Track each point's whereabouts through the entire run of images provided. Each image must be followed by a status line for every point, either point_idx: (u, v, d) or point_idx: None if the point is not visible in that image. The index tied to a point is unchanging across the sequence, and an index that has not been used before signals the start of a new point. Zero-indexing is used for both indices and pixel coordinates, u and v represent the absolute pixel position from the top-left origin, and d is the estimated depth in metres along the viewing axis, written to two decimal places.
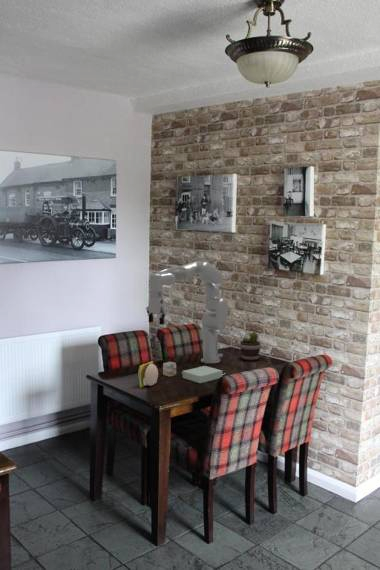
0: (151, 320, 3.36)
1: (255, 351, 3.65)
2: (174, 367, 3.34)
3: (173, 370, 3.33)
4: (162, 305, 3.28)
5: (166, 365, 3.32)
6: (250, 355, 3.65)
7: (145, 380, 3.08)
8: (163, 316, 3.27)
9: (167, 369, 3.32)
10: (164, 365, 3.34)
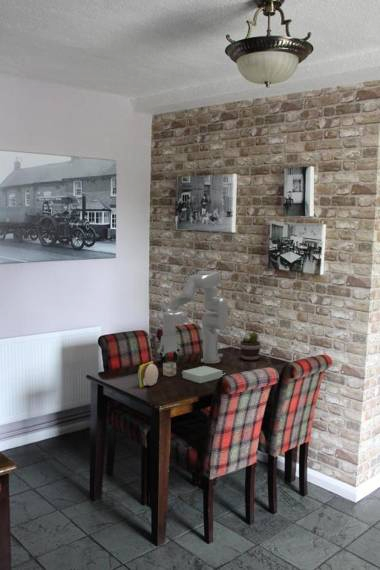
0: None
1: (255, 351, 3.65)
2: (174, 367, 3.34)
3: (173, 370, 3.33)
4: None
5: (166, 365, 3.32)
6: (250, 355, 3.65)
7: (145, 380, 3.08)
8: (177, 352, 3.38)
9: (167, 369, 3.32)
10: (164, 365, 3.34)
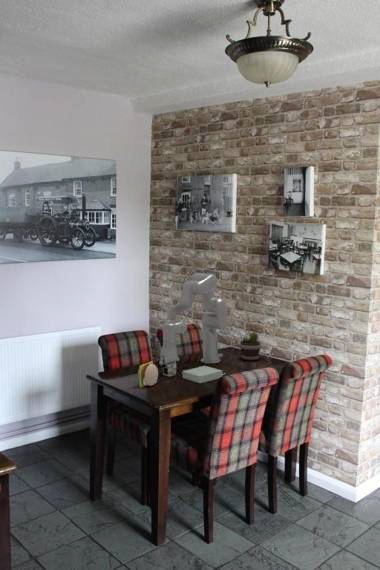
0: None
1: (255, 351, 3.65)
2: (174, 367, 3.34)
3: (173, 370, 3.33)
4: None
5: None
6: (250, 355, 3.65)
7: (145, 380, 3.08)
8: None
9: None
10: None
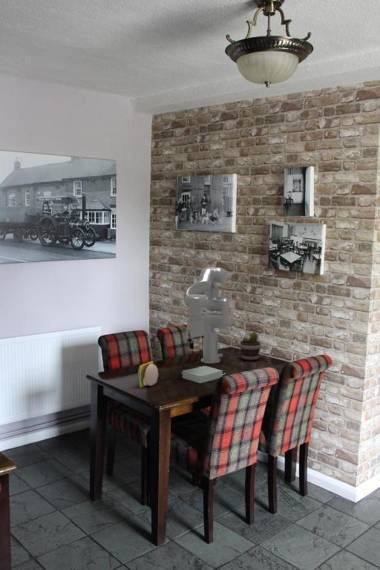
0: None
1: (255, 351, 3.65)
2: (200, 342, 3.26)
3: (199, 345, 3.26)
4: None
5: None
6: (250, 355, 3.65)
7: (145, 380, 3.08)
8: None
9: (193, 343, 3.25)
10: None
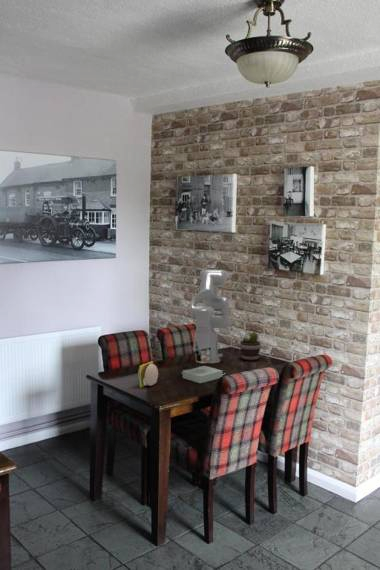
0: None
1: (255, 351, 3.65)
2: (207, 354, 3.26)
3: (206, 357, 3.25)
4: None
5: None
6: (250, 355, 3.65)
7: (145, 380, 3.08)
8: None
9: None
10: None
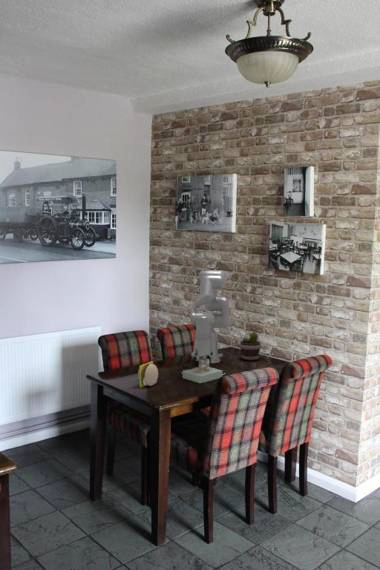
0: None
1: (255, 351, 3.65)
2: (207, 363, 3.27)
3: (206, 366, 3.26)
4: None
5: (199, 361, 3.25)
6: (250, 355, 3.65)
7: (145, 380, 3.08)
8: None
9: (200, 365, 3.25)
10: None
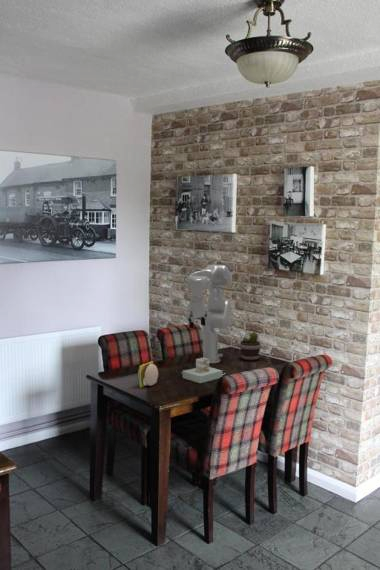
0: None
1: (255, 351, 3.65)
2: (207, 363, 3.27)
3: (206, 366, 3.26)
4: None
5: (199, 361, 3.25)
6: (250, 355, 3.65)
7: (145, 380, 3.08)
8: None
9: (200, 365, 3.25)
10: (197, 361, 3.27)
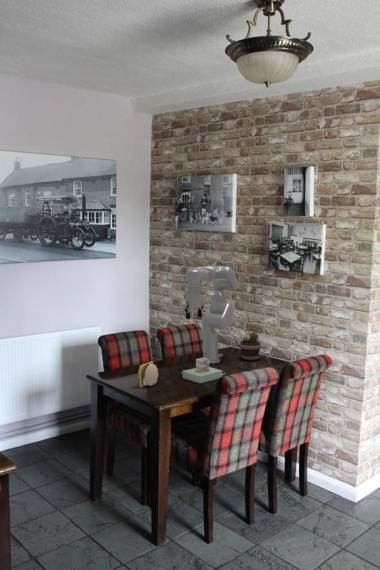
0: None
1: (255, 351, 3.65)
2: (207, 363, 3.27)
3: (206, 366, 3.26)
4: None
5: (199, 361, 3.25)
6: (250, 355, 3.65)
7: (145, 380, 3.08)
8: None
9: (200, 365, 3.25)
10: (197, 361, 3.27)
